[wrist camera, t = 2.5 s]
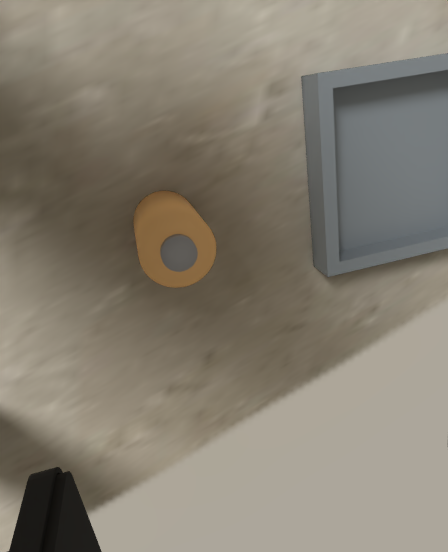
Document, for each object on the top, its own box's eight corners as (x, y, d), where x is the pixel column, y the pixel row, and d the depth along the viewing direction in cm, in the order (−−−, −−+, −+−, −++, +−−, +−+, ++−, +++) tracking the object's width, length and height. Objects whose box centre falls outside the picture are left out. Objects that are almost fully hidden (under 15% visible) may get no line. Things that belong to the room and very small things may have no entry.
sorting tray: (301, 76, 29) (317, 73, 26) (479, 49, 31) (508, 43, 29) (313, 266, 34) (327, 277, 32) (464, 230, 36) (487, 238, 34)
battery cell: (126, 197, 29) (130, 224, 22) (189, 185, 29) (212, 207, 22) (140, 257, 30) (148, 299, 24) (200, 244, 31) (224, 282, 24)
